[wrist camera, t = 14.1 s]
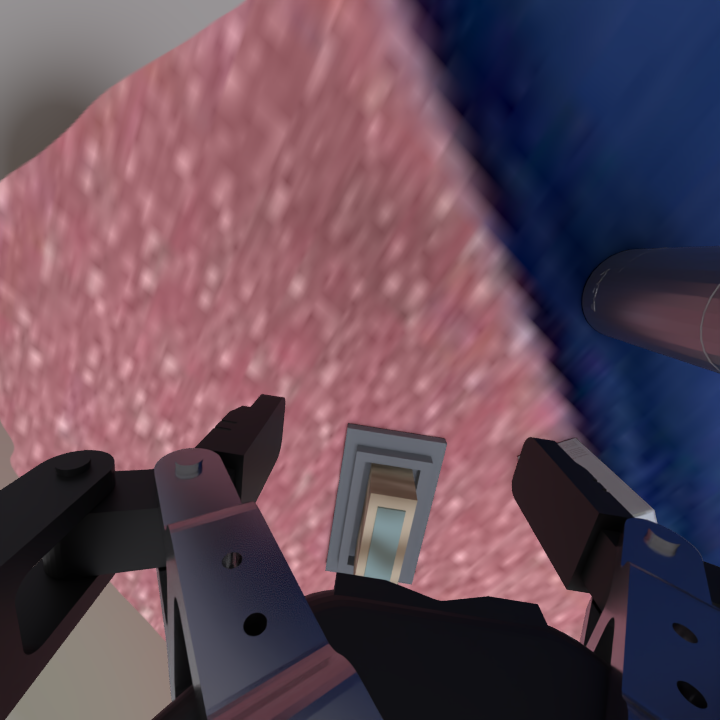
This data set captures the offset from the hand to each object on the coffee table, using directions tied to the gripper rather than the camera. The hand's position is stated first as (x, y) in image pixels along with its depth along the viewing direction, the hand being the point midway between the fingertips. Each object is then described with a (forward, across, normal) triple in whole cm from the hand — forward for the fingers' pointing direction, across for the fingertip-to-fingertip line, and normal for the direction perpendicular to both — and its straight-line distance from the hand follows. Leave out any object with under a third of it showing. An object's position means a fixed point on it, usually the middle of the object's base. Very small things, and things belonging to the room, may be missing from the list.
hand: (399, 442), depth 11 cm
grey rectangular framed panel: (+28, -4, +25) cm, 38 cm away
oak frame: (+27, -4, +25) cm, 37 cm away
